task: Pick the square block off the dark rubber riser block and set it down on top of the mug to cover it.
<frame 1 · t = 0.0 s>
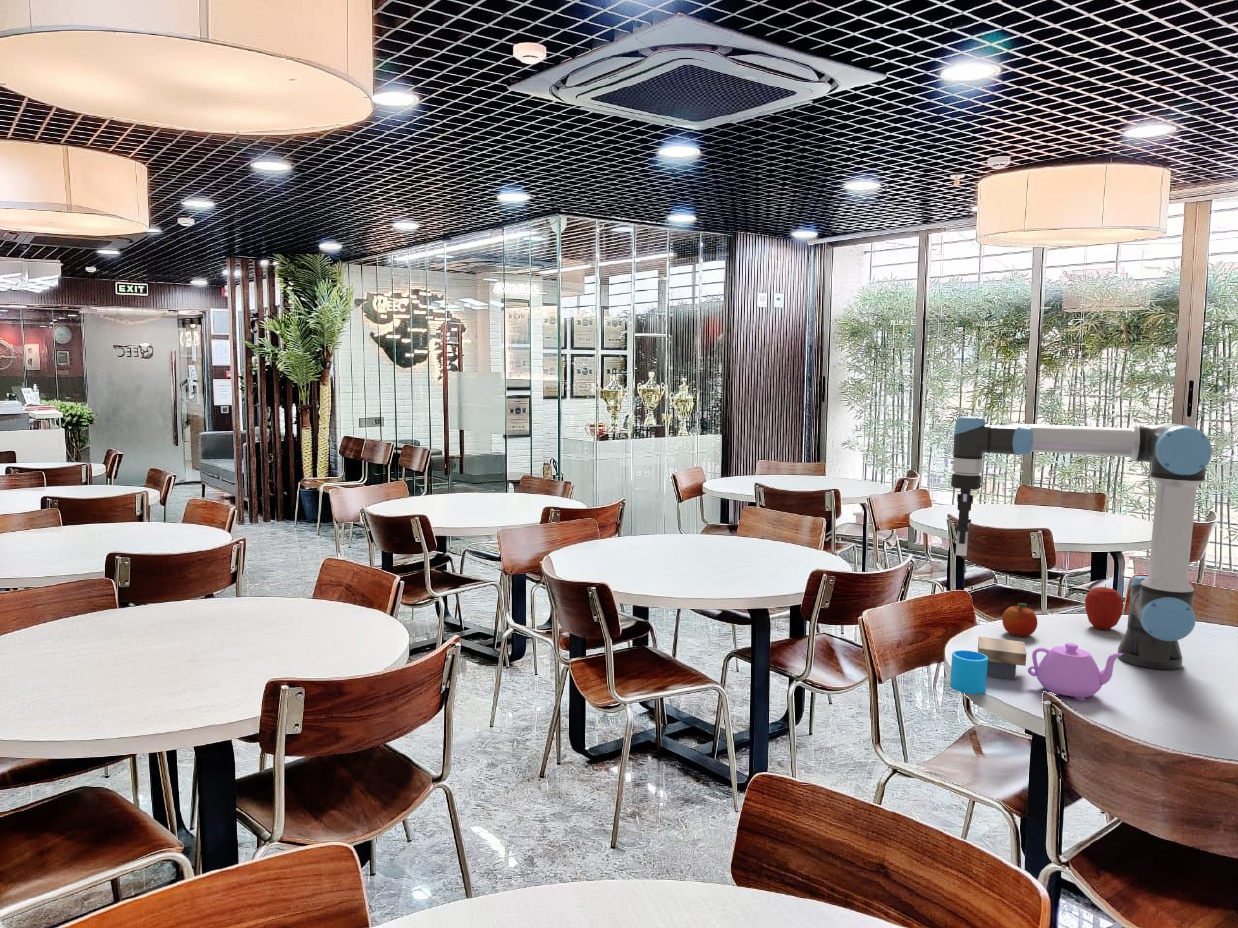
hand: (961, 550, 247), 28 cm above the table, fingers open, 13 cm apart
mug: (965, 685, 222), on the table
apple: (1101, 628, 275), on the table
block: (1000, 656, 231), point 4 cm above the table, touching riser
teapot: (1071, 694, 218), on the table
fruit: (1018, 635, 266), on the table
riser: (999, 673, 231), on the table
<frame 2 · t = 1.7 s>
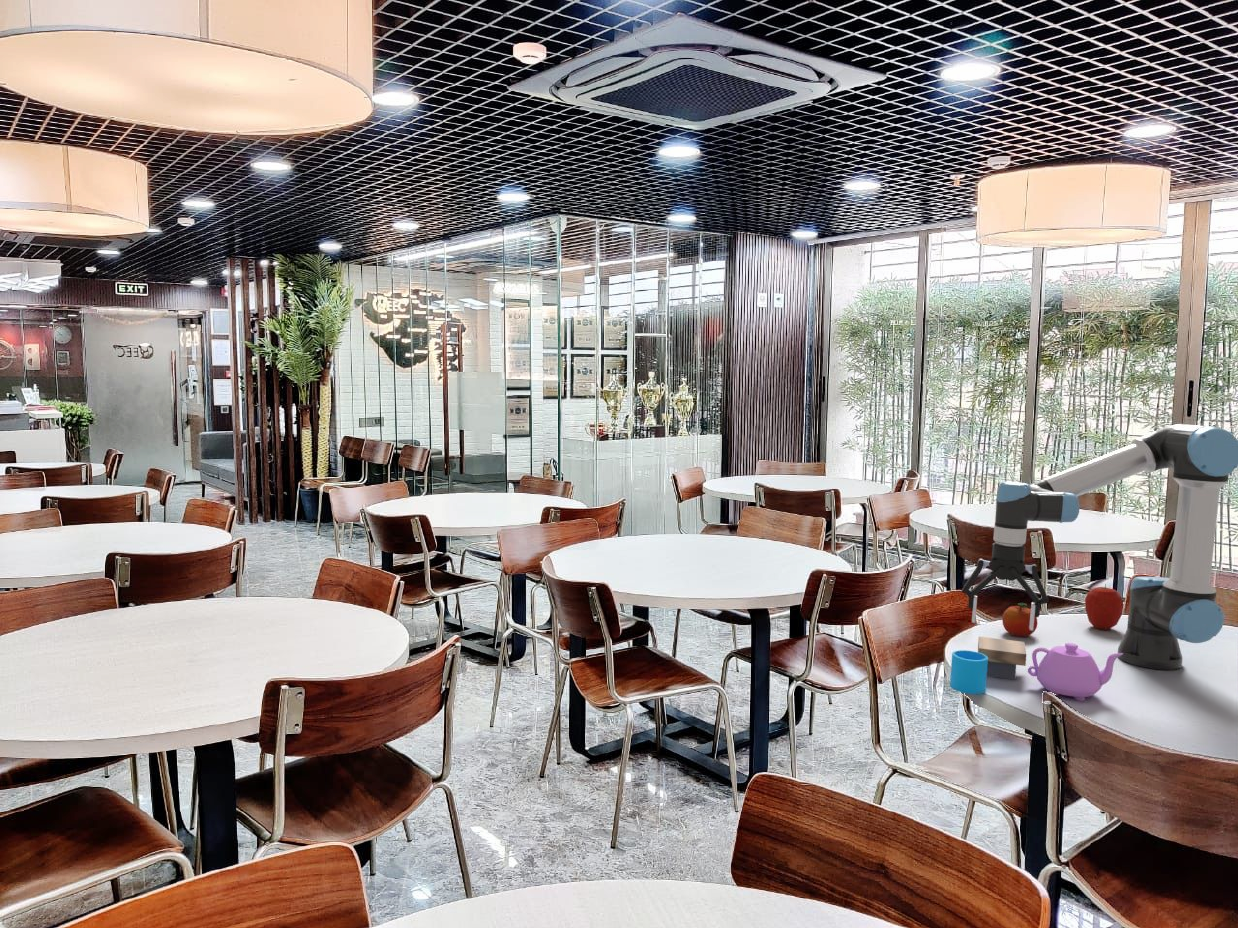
hand: (1002, 625, 230), 13 cm above the table, fingers open, 13 cm apart
nothing on the table moved.
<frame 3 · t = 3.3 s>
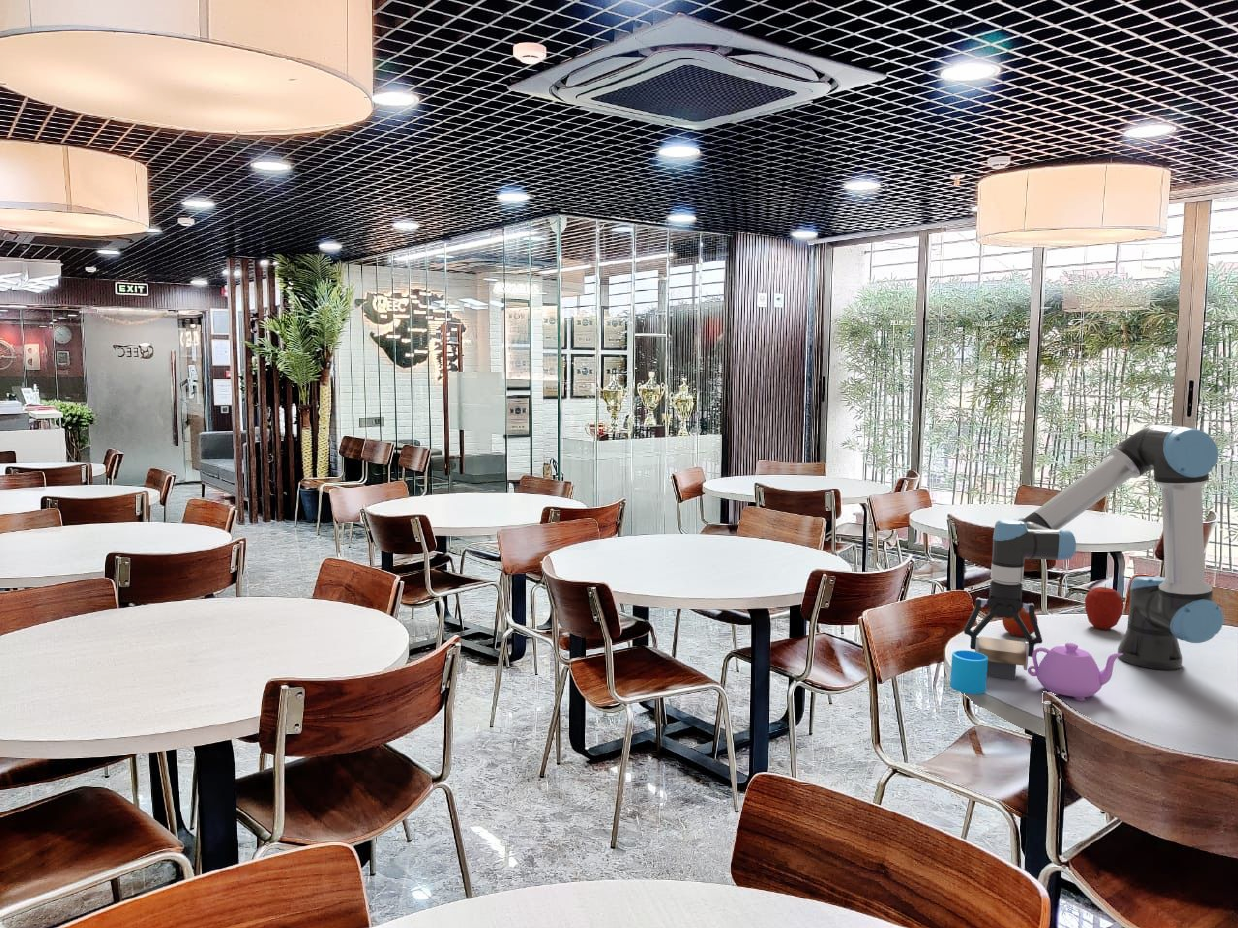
hand: (1000, 664, 231), 2 cm above the table, fingers closed on block, 11 cm apart
block: (1001, 656, 231), point 4 cm above the table, touching gripper, riser
everything else where it was.
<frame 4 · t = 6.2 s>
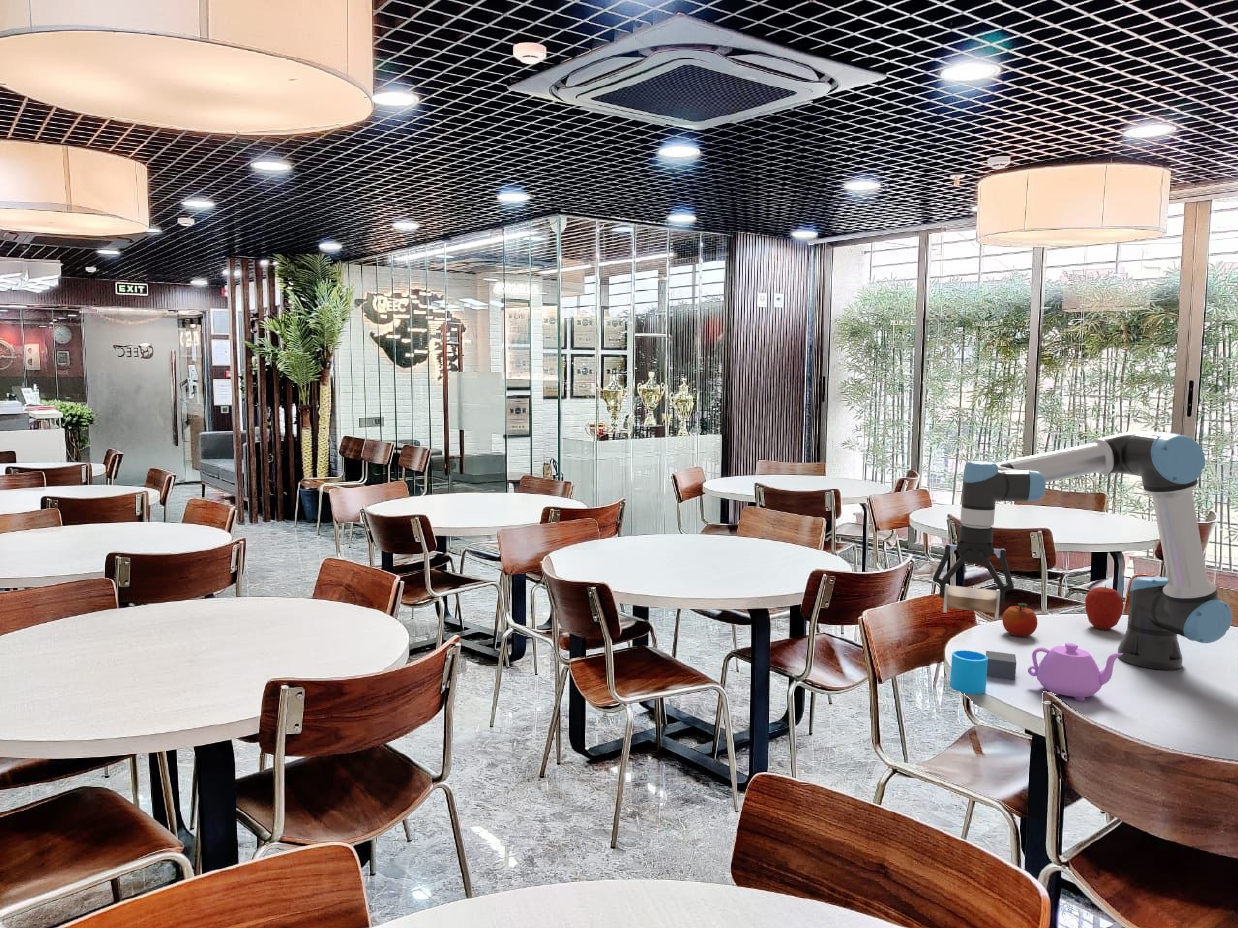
hand: (970, 613, 220), 18 cm above the table, fingers closed on block, 11 cm apart
block: (971, 604, 220), point 20 cm above the table, touching gripper
everything else where it was.
when the fingers open (8 cm above the table, at t = 8.9 s): block drops 2 cm, resting on mug.
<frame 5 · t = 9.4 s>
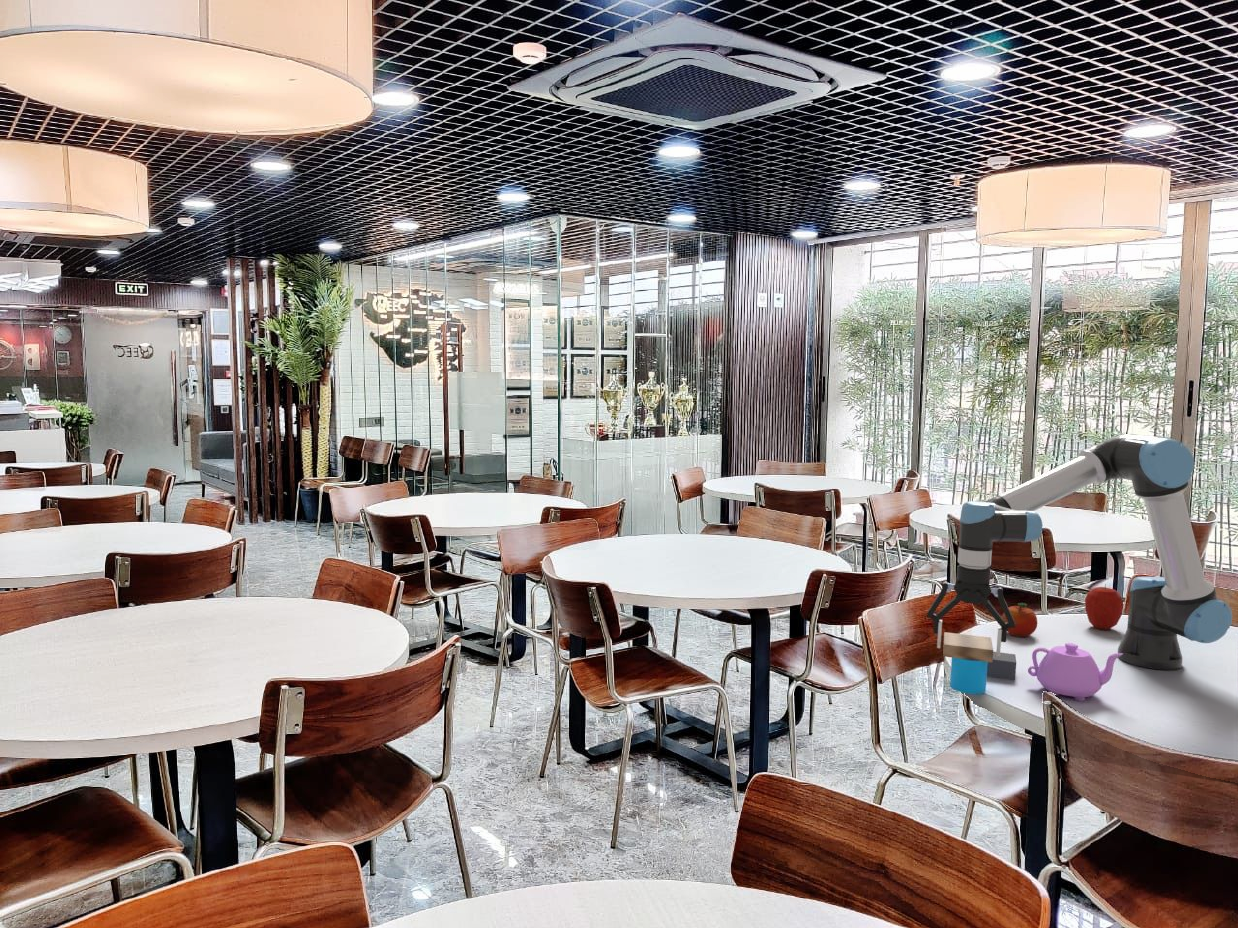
hand: (968, 650, 221), 9 cm above the table, fingers open, 13 cm apart
mug: (965, 686, 222), on the table, touching block
block: (967, 652, 222), point 8 cm above the table, touching mug
everything else where it was.
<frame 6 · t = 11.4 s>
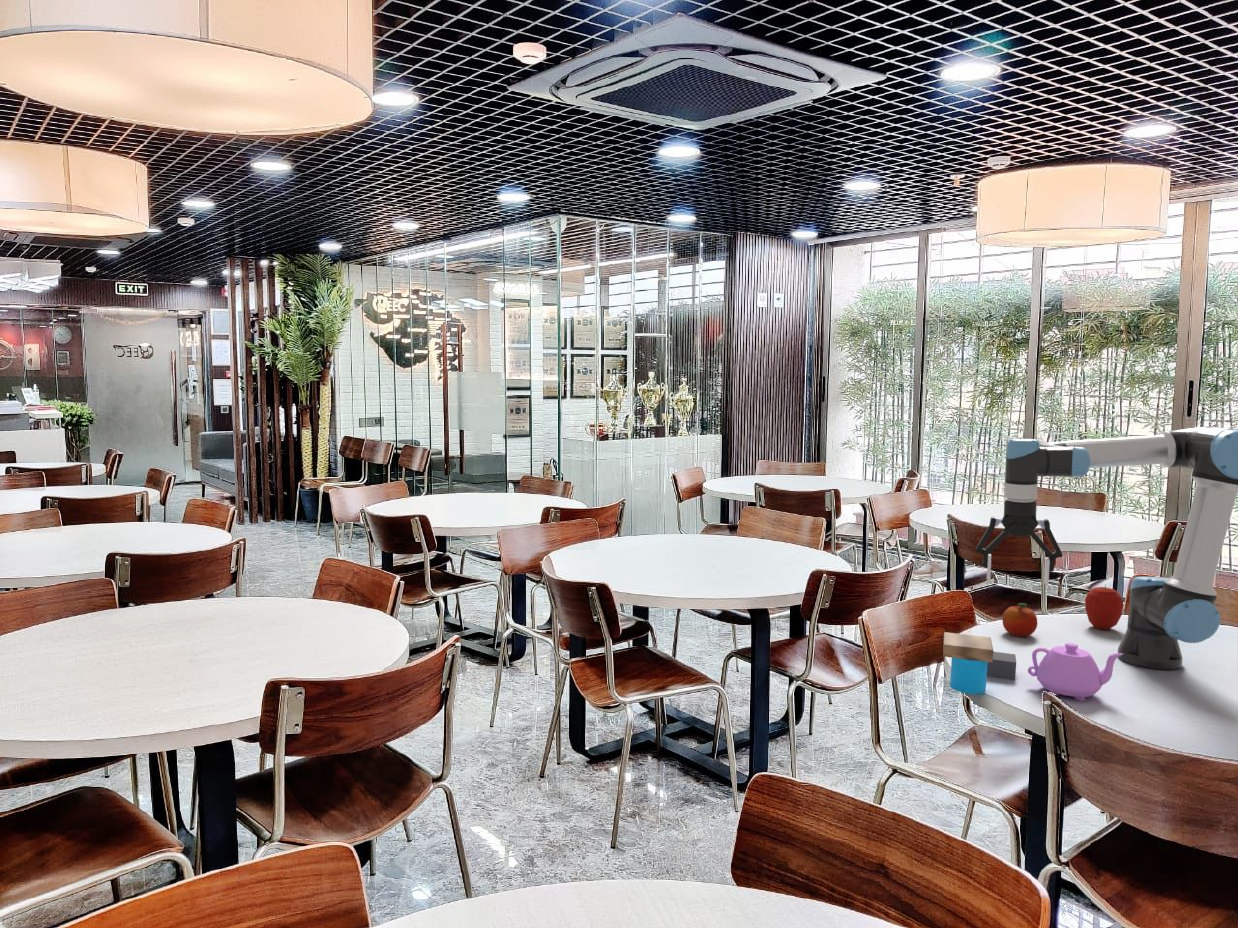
hand: (1017, 581, 231), 23 cm above the table, fingers open, 13 cm apart
nothing on the table moved.
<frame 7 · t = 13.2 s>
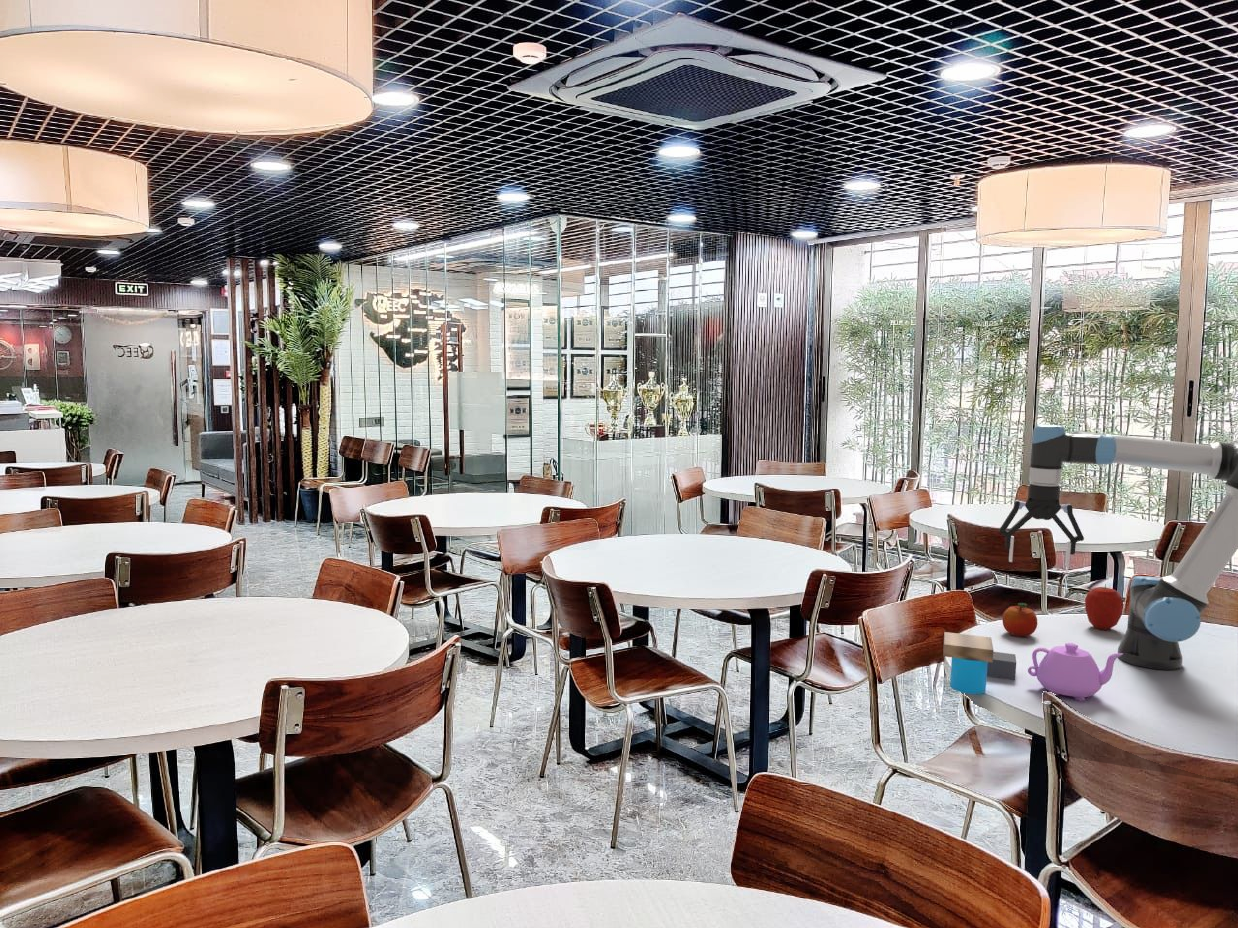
hand: (1038, 563, 238), 27 cm above the table, fingers open, 13 cm apart
nothing on the table moved.
at the end: block inside the target area on the mug (0.4 cm from its centre), point 8.4 cm above the mug's base; the gripper is holding nothing; mug tilted 0° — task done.
